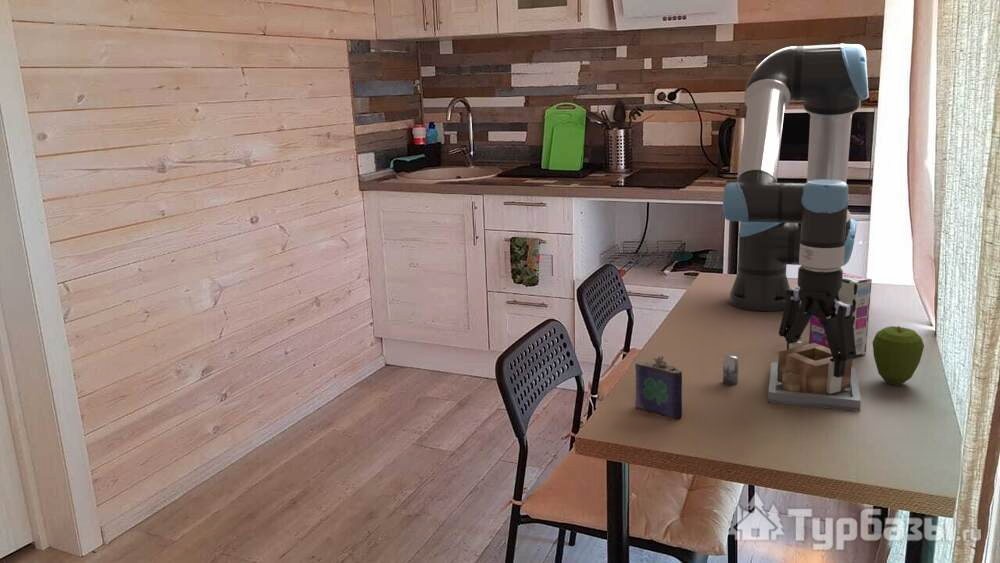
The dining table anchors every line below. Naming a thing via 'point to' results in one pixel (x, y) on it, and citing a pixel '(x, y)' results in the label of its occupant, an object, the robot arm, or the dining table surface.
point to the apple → (897, 353)
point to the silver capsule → (730, 369)
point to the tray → (837, 400)
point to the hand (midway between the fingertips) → (813, 382)
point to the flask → (659, 389)
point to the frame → (808, 369)
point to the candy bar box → (859, 295)
